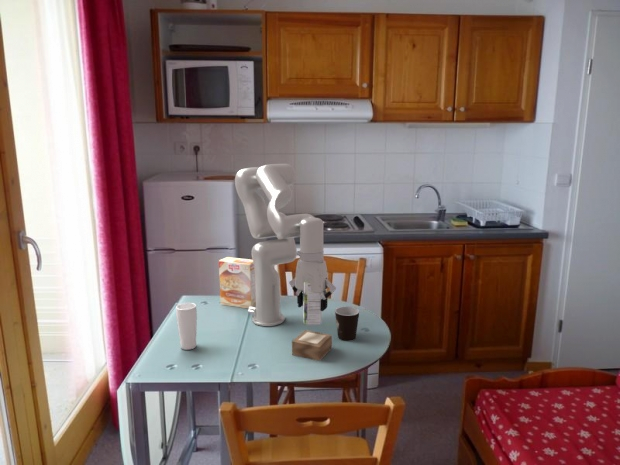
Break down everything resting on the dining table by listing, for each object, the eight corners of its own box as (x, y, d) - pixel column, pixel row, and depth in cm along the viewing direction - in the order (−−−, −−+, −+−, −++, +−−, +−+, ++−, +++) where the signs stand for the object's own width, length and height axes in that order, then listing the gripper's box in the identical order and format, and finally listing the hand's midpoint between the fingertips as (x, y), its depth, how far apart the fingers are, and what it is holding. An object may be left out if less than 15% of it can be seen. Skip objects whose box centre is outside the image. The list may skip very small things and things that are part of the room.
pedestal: (292, 354, 163) (292, 340, 162) (305, 342, 172) (305, 329, 171) (319, 360, 159) (319, 346, 158) (331, 348, 168) (331, 334, 167)
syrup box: (302, 318, 165) (301, 277, 162) (320, 317, 166) (319, 276, 163) (304, 325, 160) (303, 282, 157) (322, 324, 160) (322, 282, 157)
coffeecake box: (220, 304, 209) (217, 260, 204) (228, 299, 215) (226, 256, 211) (251, 309, 203) (249, 264, 199) (259, 303, 210) (258, 259, 205)
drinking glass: (181, 353, 165) (178, 311, 161) (176, 345, 171) (173, 304, 167) (201, 348, 168) (198, 307, 165) (195, 341, 174) (193, 301, 170)
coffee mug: (357, 343, 171) (357, 316, 169) (333, 341, 173) (333, 314, 171) (360, 329, 183) (361, 304, 180) (337, 328, 184) (338, 302, 182)
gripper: (282, 256, 159) (283, 307, 162) (332, 262, 151) (332, 316, 155) (293, 250, 165) (294, 300, 169) (341, 256, 158) (341, 308, 162)
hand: (312, 307), depth 162 cm, fingers closed on syrup box, 7 cm apart
